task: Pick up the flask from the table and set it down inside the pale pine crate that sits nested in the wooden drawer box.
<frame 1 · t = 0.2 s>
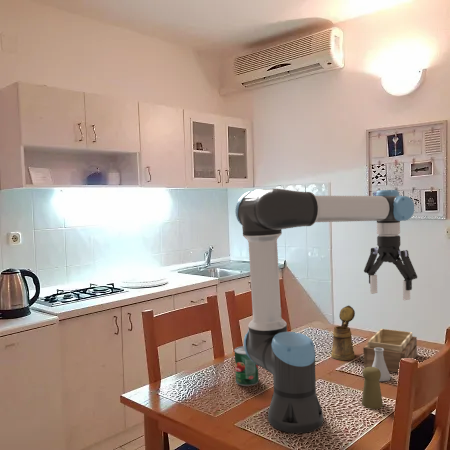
hand: (389, 296, 160), 27 cm above the table, fingers open, 13 cm apart
canned tomato: (247, 381, 158), on the table
wooden drawer box: (391, 360, 172), on the table
cork: (372, 405, 137), on the table
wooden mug: (344, 355, 180), on the table
pine crate: (390, 347, 172), in the wooden drawer box, point 5 cm above the table
flask: (379, 378, 157), on the table
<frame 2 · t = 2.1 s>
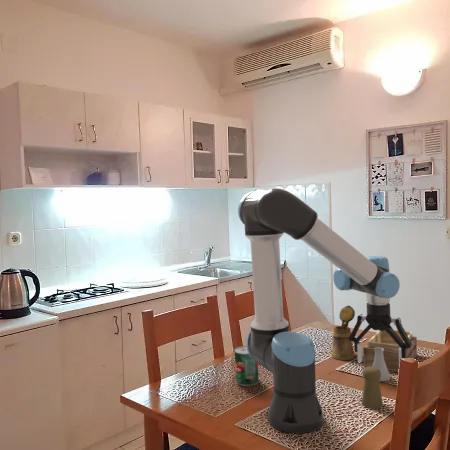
hand: (380, 364, 156), 4 cm above the table, fingers open, 13 cm apart
nothing on the table moved.
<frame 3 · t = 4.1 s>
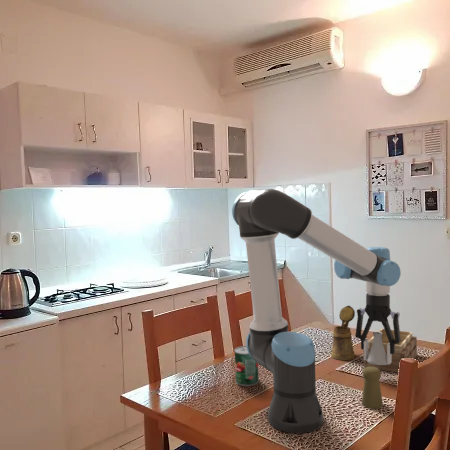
hand: (377, 360, 156), 6 cm above the table, fingers closed on flask, 7 cm apart
flask: (377, 362, 156), point 5 cm above the table, touching gripper
everything else where it was.
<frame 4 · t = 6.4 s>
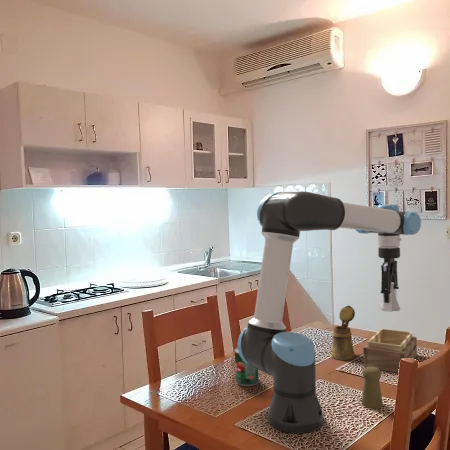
hand: (390, 308, 171), 20 cm above the table, fingers closed on flask, 7 cm apart
flask: (390, 310, 171), point 19 cm above the table, touching gripper
everything else where it was.
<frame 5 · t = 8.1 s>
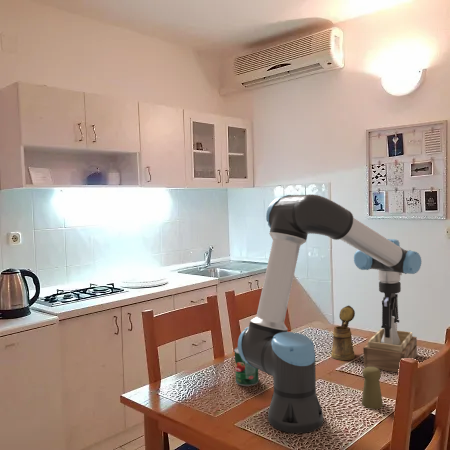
hand: (390, 342, 172), 7 cm above the table, fingers closed on flask, 7 cm apart
flask: (390, 343, 172), point 6 cm above the table, touching gripper
everything else where it was.
when the fingers open (3 cm above the table, at t = 9.1 s): flask drops 1 cm, resting on pine crate.
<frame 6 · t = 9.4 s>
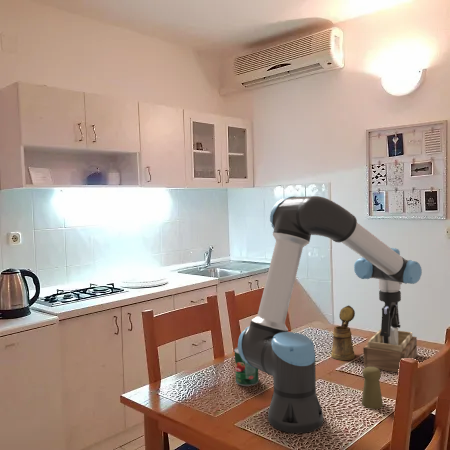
hand: (390, 349, 172), 4 cm above the table, fingers open, 10 cm apart
flask: (390, 356, 172), point 2 cm above the table, touching pine crate
everything else where it was.
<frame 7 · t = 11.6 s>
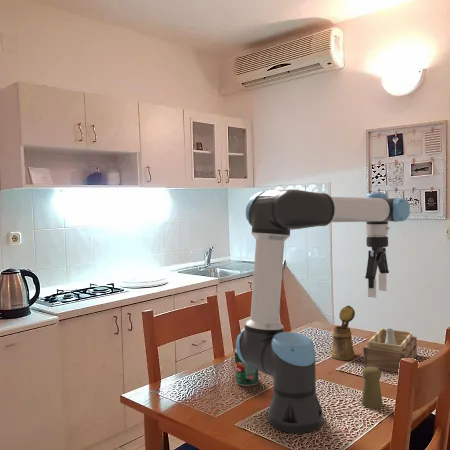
hand: (377, 293, 170), 25 cm above the table, fingers open, 13 cm apart
nothing on the table moved.
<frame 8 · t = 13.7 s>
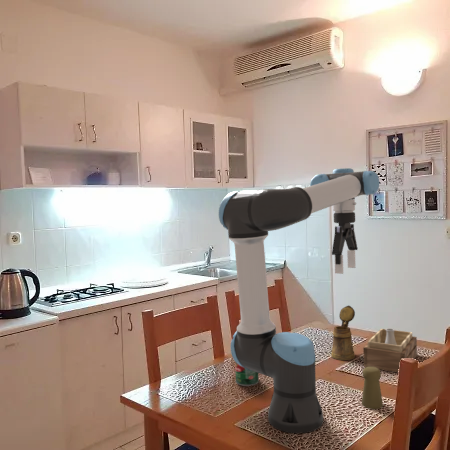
hand: (345, 270, 168), 35 cm above the table, fingers open, 13 cm apart
nothing on the table moved.
at the end: flask 0.1 cm from the pine crate (horizontally); flask point 1.6 cm above the table; flask tilted 0° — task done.
